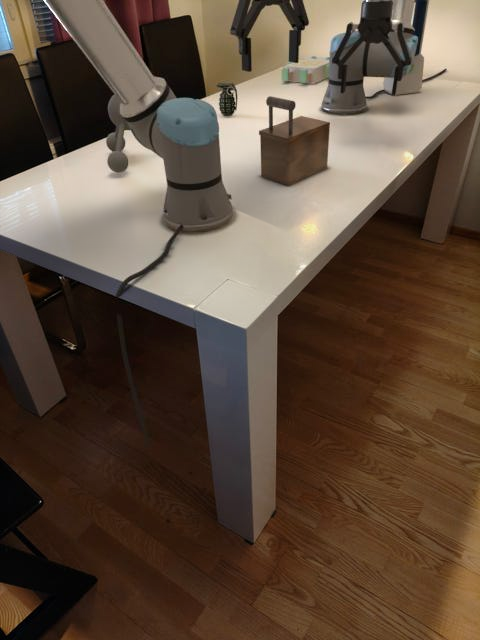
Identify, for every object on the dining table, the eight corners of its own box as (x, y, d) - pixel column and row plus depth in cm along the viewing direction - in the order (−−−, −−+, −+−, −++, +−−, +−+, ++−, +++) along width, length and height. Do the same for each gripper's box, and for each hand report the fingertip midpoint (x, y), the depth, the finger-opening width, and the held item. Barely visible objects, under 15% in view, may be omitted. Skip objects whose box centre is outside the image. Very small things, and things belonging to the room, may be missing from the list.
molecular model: (192, 164, 133) (178, 39, 115) (111, 178, 128) (83, 49, 109) (169, 139, 151) (154, 28, 132) (98, 152, 145) (72, 36, 127)
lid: (287, 142, 112) (287, 104, 107) (258, 134, 118) (257, 98, 113) (329, 126, 120) (332, 89, 115) (301, 119, 126) (302, 84, 121)
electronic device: (391, 95, 179) (404, -2, 161) (381, 91, 185) (392, -4, 167) (421, 91, 181) (437, -5, 163) (410, 87, 187) (425, -6, 169)
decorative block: (304, 54, 217) (345, 57, 207) (303, 70, 221) (343, 73, 211) (272, 65, 201) (315, 69, 191) (272, 82, 205) (314, 86, 195)
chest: (288, 185, 119) (288, 142, 112) (261, 176, 124) (260, 134, 118) (327, 168, 127) (329, 126, 120) (300, 160, 132) (301, 119, 126)
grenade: (217, 117, 168) (214, 86, 162) (221, 112, 172) (219, 82, 166) (235, 117, 166) (233, 86, 160) (239, 113, 171) (238, 82, 165)
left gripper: (305, -51, 107) (301, 56, 120) (209, -46, 97) (216, 72, 109) (328, -52, 102) (322, 60, 115) (230, -47, 92) (235, 77, 104)
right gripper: (323, 2, 120) (319, 94, 133) (430, 0, 112) (414, 98, 125) (330, -2, 125) (325, 88, 138) (432, -4, 117) (417, 91, 130)
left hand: (270, 66), depth 112 cm, fingers open, 13 cm apart
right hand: (367, 93), depth 132 cm, fingers open, 13 cm apart
